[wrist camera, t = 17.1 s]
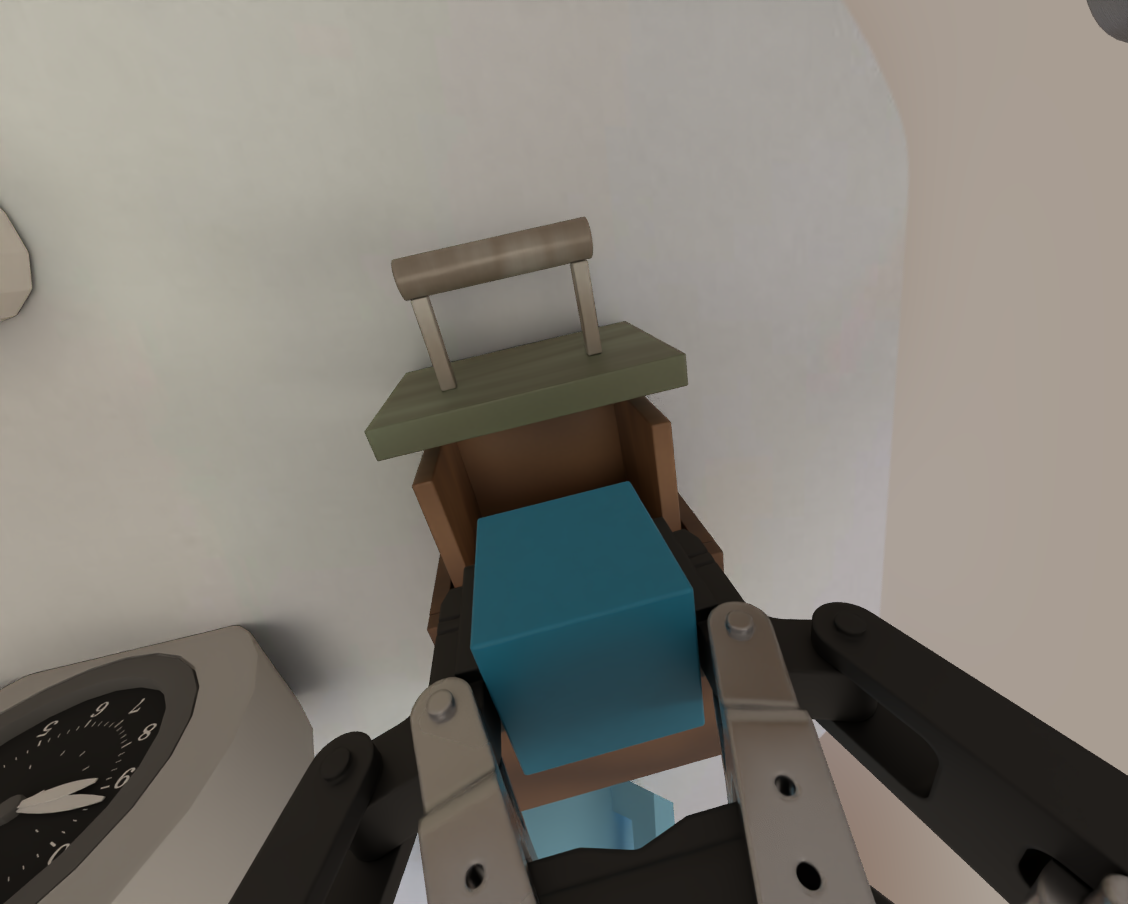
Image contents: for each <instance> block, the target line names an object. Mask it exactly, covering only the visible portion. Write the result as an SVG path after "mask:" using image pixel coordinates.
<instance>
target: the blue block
mask: <svg viewBox="0 0 1128 904" xmlns="http://www.w3.org/2000/svg"><path fill="white" fill-rule="evenodd" d="M470 649H471V652H472V654H473V656H474V659H475V661H476V663H477V666H478V668H479V670H480V673H481V675H482V677H483V680H484V682H485V684H486V687H487V689H488V691H489V693H490V696H491V698H492V700H493V703H494V705H495V707H496V710H497V712H498V714H499V717H500V719H501V721H502V724H503V726H504V728H505V731H506V733H507V735H508V738H509V740H510V742H511V745H512V747H513V749H514V752H515V754H516V756H517V759H518V761H519V763H520V766H521V768H522V770H523V772H524V774H525V775H531V774H534V773H538V772H541V771H545V770H548V769H552V768H555V767H559V766H562V765H566V764H569V763H573V762H577V761H580V760H584V759H587V758H591V757H594V756H598V755H601V754H605V753H608V752H612V751H615V750H619V749H623V748H626V747H630V746H633V745H637V744H640V743H644V742H647V741H651V740H654V739H658V738H661V737H665V736H669V735H672V734H676V733H679V732H683V731H686V730H690V729H693V728H697V727H700V726H703V725H704V724H705V718H704V706H703V695H702V684H701V672H700V661H699V649H698V638H697V626H696V615H695V604H694V592H693V588H692V586H691V584H690V583H689V581H688V579H687V578H686V576H685V574H684V572H683V571H682V569H681V567H680V566H679V564H678V562H677V561H676V559H675V557H674V555H673V554H672V552H671V550H670V549H669V547H668V545H667V544H666V542H665V540H664V539H663V537H662V535H661V533H660V532H659V530H658V528H657V527H656V525H655V523H654V522H653V520H652V518H651V517H650V515H649V513H648V511H647V510H646V508H645V506H644V505H643V503H642V501H641V500H640V498H639V496H638V494H637V493H636V491H635V489H634V488H633V486H632V484H631V483H630V482H629V481H626V482H622V483H618V484H614V485H610V486H606V487H602V488H598V489H594V490H590V491H586V492H582V493H578V494H574V495H570V496H566V497H562V498H558V499H554V500H550V501H547V502H543V503H539V504H535V505H531V506H527V507H523V508H519V509H515V510H511V511H507V512H503V513H499V514H495V515H491V516H487V517H483V518H480V519H478V521H477V537H476V554H475V572H474V589H473V607H472V624H471V641H470Z"/></svg>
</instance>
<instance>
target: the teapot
mask: <svg viewBox="0 0 1128 904" xmlns="http://www.w3.org/2000/svg"><path fill="white" fill-rule="evenodd" d="M521 813H522V816H523V818H524V821H525V824H526V827H527V830H528V833H529V836H530V839H531V842H532V844H533V847H534V850H535V852H536V855H537V857H538V859H541V858H545V857H548V856H552V855H555V854H558V853H562V852H565V851H569V850H572V849H576V848H579V847H584V848H605V849H627V850H635V849H639V848H641V847H643V846H644V845H646V844H647V843H649V842H650V841H652V840H653V839H654V838H656V837H657V836H659V835H660V834H662V833H663V832H664V831H666V830H667V829H669V828H670V827H672V826H673V825H674V824H675V822H674V810H673V803H672V802H670V801H668V800H666V799H664V798H662V797H660V796H658V795H656V794H654V793H652V792H650V791H648V790H646V789H644V788H642V787H640V786H638V785H636V784H634V783H632V782H630V781H627V782H623V783H620V784H616V785H613V786H609V787H606V788H602V789H599V790H595V791H592V792H588V793H585V794H581V795H578V796H574V797H571V798H567V799H563V800H560V801H556V802H553V803H549V804H546V805H542V806H539V807H535V808H532V809H528V810H525V811H521Z"/></svg>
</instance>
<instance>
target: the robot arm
mask: <svg viewBox="0 0 1128 904" xmlns="http://www.w3.org/2000/svg"><path fill="white" fill-rule="evenodd" d="M652 520H653V522H654V523H655V525H656V527H657V528H658V530H659V532H660V533H661V535H662V537H663V539H664V540H665V542H666V544H667V545H668V547H669V549H670V550H671V552H672V554H673V555H674V557H675V559H676V561H677V562H678V564H679V566H680V567H681V569H682V571H683V572H684V574H685V576H686V578H687V579H688V581H689V583H690V584H691V586H692V588H693V592H694V604H695V615H696V626H697V638H698V649H699V661H700V672H701V677H705V676H706V678H707V680H708V682H709V684H710V686H711V688H712V693H713V704H714V710H715V717H716V723H717V730H718V736H719V743H720V749H721V755H722V762H723V768H724V775H725V782H726V789H727V798H728V804H726V805H722V806H719V807H716V808H712V809H709V810H705V811H702V812H698V813H695V814H692V815H688V816H686V817H684V818H683V819H682V820H680V821H679V822H677V823H676V824H674V825H673V826H672V827H670V828H669V829H667V830H666V831H664V832H663V833H662V834H660V835H659V836H657V837H656V838H654V839H653V840H652V841H650V842H649V843H647V844H646V845H644V846H643V847H641V848H639V849H635V850H627V849H605V848H584V847H579V848H576V849H572V850H569V851H565V852H562V853H558V854H555V855H552V856H548V857H545V858H541V859H538V857H537V855H536V852H535V850H534V847H533V844H532V842H531V839H530V836H529V833H528V830H527V827H526V824H525V821H524V818H523V816H522V813H521V810H520V807H519V804H518V801H517V798H516V795H515V792H514V789H513V786H512V783H511V780H510V777H509V774H508V771H507V768H506V765H505V762H504V759H503V757H502V755H501V732H504V731H505V728H504V726H503V724H502V721H501V719H500V717H499V714H498V712H497V710H496V707H495V705H494V703H493V700H492V698H491V696H490V693H489V691H488V689H487V687H486V684H485V682H484V680H483V677H482V675H481V673H480V670H479V668H478V666H477V663H476V661H475V659H474V656H473V654H472V652H471V649H470V641H471V624H472V607H473V589H474V572H475V564H474V565H470V566H467V567H465V568H464V573H463V584H462V586H461V587H457V588H453V589H450V590H449V592H448V593H447V595H446V597H445V598H444V600H443V602H442V603H441V606H440V613H439V623H438V627H437V636H436V641H435V648H434V654H433V661H432V668H431V675H430V682H429V687H428V688H426V689H425V690H424V691H423V692H422V693H421V695H420V696H419V697H418V699H417V700H416V702H415V704H414V706H413V708H412V711H411V715H410V716H409V717H408V718H407V719H406V720H404V721H403V722H401V723H400V724H398V725H397V726H395V727H393V728H392V729H390V730H388V731H387V732H385V733H383V734H382V735H380V736H378V737H376V738H375V739H373V740H371V739H370V737H369V736H368V735H367V734H365V733H363V732H358V731H356V732H349V733H346V734H343V735H341V736H339V737H337V738H335V739H334V740H333V741H331V742H330V743H328V744H327V745H326V746H325V747H324V748H323V749H322V750H321V751H320V752H319V753H318V754H317V755H316V757H315V758H314V759H313V761H312V762H311V764H310V765H309V767H308V769H307V770H306V772H305V774H304V775H303V777H302V779H301V780H300V782H299V784H298V786H297V787H296V789H295V791H294V792H293V794H292V796H291V797H290V799H289V801H288V803H287V804H286V806H285V808H284V809H283V811H282V813H281V815H280V816H279V818H278V820H277V821H276V823H275V825H274V826H273V828H272V830H271V832H270V833H269V835H268V837H267V838H266V840H265V842H264V844H263V845H262V847H261V849H260V850H259V852H258V854H257V855H256V857H255V859H254V861H253V862H252V864H251V866H250V867H249V869H248V871H247V872H246V874H245V876H244V878H243V879H242V881H241V883H240V884H239V886H238V888H237V890H236V891H235V893H234V895H233V896H232V898H231V900H230V901H229V903H228V904H393V902H394V899H395V897H396V894H397V891H398V888H399V885H400V882H401V879H402V876H403V873H404V871H405V868H406V865H407V862H408V859H409V856H410V853H411V850H412V847H413V845H414V842H415V839H416V836H417V833H418V835H419V844H420V851H421V858H422V865H423V873H424V880H425V887H426V894H427V902H428V904H894V903H893V902H892V901H890V900H889V899H888V898H886V897H885V896H884V895H882V894H881V893H880V892H878V891H877V890H876V889H875V888H873V887H872V886H870V885H869V883H868V880H867V877H866V874H865V871H864V868H863V865H862V863H861V860H860V857H859V854H858V851H857V848H856V845H855V842H854V839H853V837H852V834H851V831H850V828H849V825H848V822H847V819H846V816H845V813H844V810H843V808H842V805H841V802H840V799H839V796H838V793H837V790H836V787H835V784H834V782H833V779H832V776H831V773H830V770H829V767H828V764H827V761H826V758H825V756H824V753H823V750H822V747H821V744H820V741H819V738H818V735H817V732H816V729H815V727H814V724H813V721H812V719H815V720H816V721H817V722H818V723H819V724H820V725H821V726H822V727H823V728H824V729H825V730H826V731H827V732H829V733H830V734H831V735H832V736H833V737H834V738H835V739H836V740H837V741H838V742H839V743H840V744H841V745H842V746H843V747H844V748H845V749H847V750H848V751H849V752H850V753H851V754H852V755H853V756H854V757H855V758H856V759H857V760H858V761H859V762H860V763H861V764H862V765H863V766H865V767H866V768H867V769H868V770H869V771H870V772H871V773H872V774H873V775H874V776H875V777H876V778H877V779H878V780H879V781H881V782H882V784H884V785H885V786H886V787H887V788H888V789H889V790H890V791H891V792H892V793H893V794H894V795H895V796H896V797H897V798H898V799H899V800H900V801H902V802H903V803H904V804H905V805H906V806H907V807H908V808H909V809H910V810H911V811H912V812H913V813H914V814H915V815H917V817H919V818H920V819H921V820H922V821H923V822H924V823H925V824H926V825H927V826H928V827H929V828H930V829H931V830H932V831H933V832H934V833H935V834H937V835H938V836H939V837H940V838H941V839H942V840H943V841H944V842H945V843H946V844H947V845H948V846H949V847H950V848H951V849H952V850H953V851H954V852H955V853H957V854H958V855H959V856H960V857H961V858H962V859H963V860H964V861H965V862H966V863H967V864H968V865H970V867H971V868H972V869H974V870H975V871H976V872H977V873H978V874H979V875H980V876H981V877H982V878H983V879H984V880H985V881H986V882H987V883H988V884H989V885H990V886H991V887H993V888H994V889H995V890H996V891H997V892H998V893H999V894H1000V895H1001V896H1002V897H1003V898H1004V899H1005V900H1006V901H1007V902H1008V903H1009V904H1128V775H1126V774H1124V773H1123V772H1121V771H1120V770H1118V769H1117V768H1115V767H1113V766H1112V765H1110V764H1109V763H1107V762H1106V761H1104V760H1102V759H1101V758H1099V757H1098V756H1096V755H1095V754H1093V753H1091V752H1090V751H1088V750H1087V749H1085V748H1083V747H1082V746H1080V745H1079V744H1077V743H1076V742H1074V741H1072V740H1071V739H1069V738H1068V737H1066V736H1065V735H1063V734H1062V733H1060V732H1058V731H1057V730H1055V729H1054V728H1052V727H1051V726H1049V725H1047V724H1046V723H1044V722H1042V721H1041V720H1039V719H1038V718H1036V717H1035V716H1033V715H1032V714H1030V713H1029V712H1027V711H1025V710H1024V709H1022V708H1021V707H1019V706H1018V705H1016V704H1014V703H1013V702H1011V701H1010V700H1008V699H1007V698H1005V697H1003V696H1002V695H1000V694H999V693H997V692H996V691H994V690H992V689H991V688H989V687H988V686H986V685H985V684H983V683H981V682H980V681H978V680H977V679H975V678H973V677H972V676H970V675H969V674H967V673H965V672H964V671H963V670H961V669H959V668H958V667H956V666H955V665H953V664H952V663H950V662H948V661H947V660H945V659H944V658H942V657H941V656H939V655H937V654H936V653H934V652H933V651H931V650H930V649H928V648H926V647H925V646H923V645H922V644H920V643H918V642H917V641H915V640H914V639H912V638H911V637H909V636H908V635H906V634H904V633H903V632H901V631H900V630H898V629H896V628H895V627H893V626H892V625H890V624H889V623H887V622H886V621H884V620H882V619H881V618H879V617H878V616H876V615H875V614H873V613H871V612H870V611H868V610H866V609H864V608H862V607H860V606H857V605H853V604H849V603H842V602H833V603H827V604H824V605H822V606H820V607H819V608H817V609H816V610H815V612H814V613H813V616H812V620H797V619H778V618H772V617H769V616H767V615H766V614H765V613H764V612H763V611H762V610H760V609H759V608H757V607H755V606H753V605H751V604H748V603H746V602H745V601H744V600H743V599H742V597H741V596H740V595H739V593H738V592H737V590H736V589H735V588H734V586H733V585H732V583H731V582H730V581H729V579H728V578H727V576H726V575H725V574H724V572H723V571H722V569H721V568H720V567H719V565H718V564H717V562H715V560H714V558H713V557H712V555H711V554H710V553H709V552H708V550H707V548H706V547H705V546H704V544H703V543H702V541H701V540H700V539H699V537H697V536H695V535H694V534H692V533H691V532H689V531H687V530H686V529H681V530H678V531H674V532H672V530H671V529H670V527H669V526H668V524H667V522H666V521H665V519H664V518H663V517H658V518H654V519H652Z"/></svg>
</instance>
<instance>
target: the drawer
mask: <svg viewBox="0 0 1128 904" xmlns="http://www.w3.org/2000/svg"><path fill="white" fill-rule="evenodd" d="M592 255H593V243H592V236H591V231H590V227H589V223H588V221H587V219H586V217H580V218H576V219H571V220H567V221H562V222H558V223H554V224H549V225H545V226H540V227H536V228H531V229H527V230H522V231H518V232H514V233H509V234H505V235H500V236H496V237H491V238H487V239H482V240H478V241H473V242H469V243H465V244H460V245H456V246H451V247H447V248H442V249H438V250H433V251H429V252H425V253H420V254H416V255H411V256H407V257H402V258H398V259H393V260H392V262H391V266H392V272H393V276H394V279H395V282H396V285H397V287H398V290H399V292H400V294H401V295H402V297H403V298H404V300H406V301H408V300H411V304H412V307H413V310H414V312H415V315H416V318H417V321H418V324H419V327H420V330H421V333H422V336H423V339H424V342H425V344H426V347H427V350H428V353H429V356H430V359H431V362H432V365H433V367H429V368H425V369H421V370H416V371H412V372H408V373H406V374H405V375H404V377H403V378H402V379H401V381H400V382H399V384H398V385H397V386H396V388H395V389H394V391H393V392H392V393H391V395H390V396H389V398H388V399H387V400H386V402H385V403H384V405H383V406H382V408H381V409H380V410H379V412H378V413H377V415H376V416H375V417H374V419H373V420H372V422H371V423H370V424H369V426H368V427H367V429H366V430H365V434H366V437H367V439H368V441H369V443H370V446H371V448H372V450H373V452H374V455H375V457H376V459H377V461H381V460H385V459H389V458H393V457H398V456H402V455H406V454H410V453H414V452H418V451H422V450H424V453H423V455H422V458H421V461H420V464H419V467H418V470H417V473H416V476H415V478H414V481H413V484H412V488H413V490H414V492H415V495H416V497H417V500H418V502H419V504H420V507H421V509H422V511H423V514H424V516H425V519H426V521H427V523H428V526H429V528H430V531H431V533H432V535H433V538H434V540H435V542H436V545H437V547H438V550H439V552H440V554H441V557H442V559H443V562H444V564H445V566H446V569H447V571H448V574H449V576H450V578H451V581H452V583H453V585H454V588H457V587H461V586H462V584H463V573H464V568H465V567H467V566H470V565H474V564H475V554H476V537H477V521H478V519H480V518H483V517H487V516H491V515H495V514H499V513H503V512H507V511H511V510H515V509H519V508H523V507H527V506H531V505H535V504H539V503H543V502H547V501H550V500H554V499H558V498H562V497H566V496H570V495H574V494H578V493H582V492H586V491H590V490H594V489H598V488H602V487H606V486H610V485H614V484H618V483H622V482H626V481H629V482H630V483H631V484H632V486H633V488H634V489H635V491H636V493H637V494H638V496H639V498H640V500H641V501H642V503H643V505H644V506H645V508H646V510H647V511H648V513H649V515H650V517H651V518H652V519H654V518H658V517H663V518H664V519H665V521H666V522H667V524H668V526H669V527H670V529H671V530H672V532H674V531H678V530H681V520H680V510H679V500H678V490H677V480H676V470H675V460H674V449H673V439H672V429H671V422H670V420H668V419H667V418H666V417H665V416H664V415H663V414H662V413H661V412H660V411H659V410H658V409H657V408H656V407H655V406H654V405H653V404H652V403H651V402H650V401H649V400H648V399H647V398H646V397H645V396H646V395H650V394H654V393H658V392H662V391H667V390H671V389H675V388H679V387H683V386H687V385H688V378H687V365H686V354H685V353H683V352H681V351H679V350H677V349H676V348H674V347H672V346H670V345H668V344H666V343H665V342H663V341H661V340H659V339H657V338H655V337H654V336H652V335H650V334H648V333H646V332H644V331H642V330H641V329H639V328H637V327H635V326H633V325H631V324H630V323H628V322H626V321H623V322H619V323H615V324H610V325H606V326H602V327H598V322H597V316H596V309H595V303H594V297H593V291H592V285H591V279H590V273H589V266H588V261H587V259H591V258H592ZM569 263H570V268H571V273H572V279H573V284H574V290H575V295H576V301H577V306H578V312H579V318H580V323H581V329H582V331H581V332H577V333H572V334H568V335H564V336H560V337H556V338H551V339H547V340H543V341H539V342H535V343H530V344H526V345H522V346H518V347H513V348H509V349H505V350H501V351H497V352H492V353H488V354H484V355H480V356H475V357H471V358H467V359H463V360H459V361H454V362H450V360H449V357H448V354H447V351H446V347H445V344H444V341H443V338H442V335H441V332H440V329H439V326H438V323H437V320H436V317H435V314H434V310H433V307H432V304H431V301H430V298H429V296H430V295H434V294H438V293H443V292H447V291H452V290H456V289H460V288H465V287H469V286H473V285H478V284H482V283H486V282H491V281H495V280H499V279H504V278H508V277H513V276H517V275H521V274H526V273H530V272H534V271H539V270H543V269H547V268H552V267H556V266H560V265H565V264H569ZM412 299H413V300H412Z"/></svg>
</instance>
